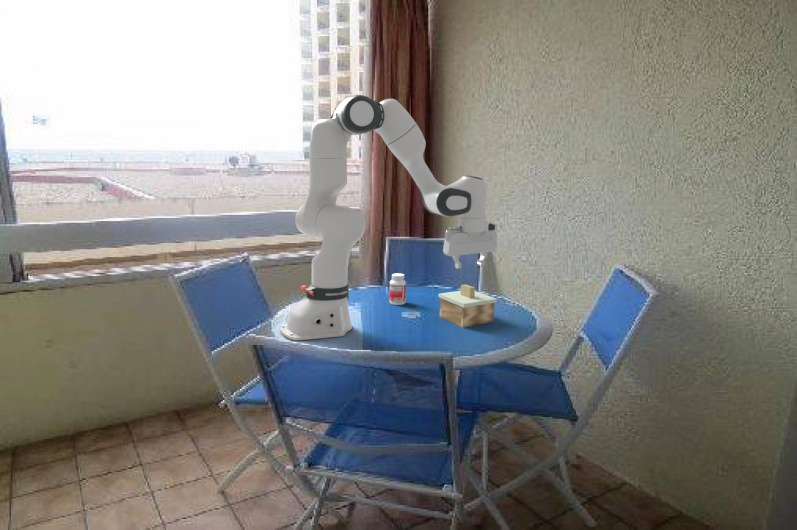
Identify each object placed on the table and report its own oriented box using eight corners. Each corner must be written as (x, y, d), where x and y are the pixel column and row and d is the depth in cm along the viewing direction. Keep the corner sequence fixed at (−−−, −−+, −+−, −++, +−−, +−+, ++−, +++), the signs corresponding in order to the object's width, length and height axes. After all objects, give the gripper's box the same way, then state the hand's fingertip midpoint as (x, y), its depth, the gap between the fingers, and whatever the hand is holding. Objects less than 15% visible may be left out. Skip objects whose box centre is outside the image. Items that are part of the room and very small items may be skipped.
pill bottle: (398, 300, 196) (399, 272, 194) (408, 303, 192) (409, 275, 190) (385, 302, 193) (386, 274, 190) (396, 306, 188) (396, 277, 186)
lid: (463, 307, 164) (464, 293, 163) (438, 297, 176) (438, 283, 175) (496, 302, 171) (497, 288, 170) (470, 292, 183) (471, 279, 182)
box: (462, 327, 166) (463, 306, 165) (439, 316, 177) (440, 297, 175) (493, 322, 173) (494, 302, 171) (469, 311, 183) (470, 293, 182)
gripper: (451, 228, 160) (450, 271, 163) (501, 225, 171) (498, 265, 174) (440, 226, 166) (438, 267, 169) (488, 222, 176) (486, 262, 179)
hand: (469, 266), depth 171 cm, fingers open, 8 cm apart
